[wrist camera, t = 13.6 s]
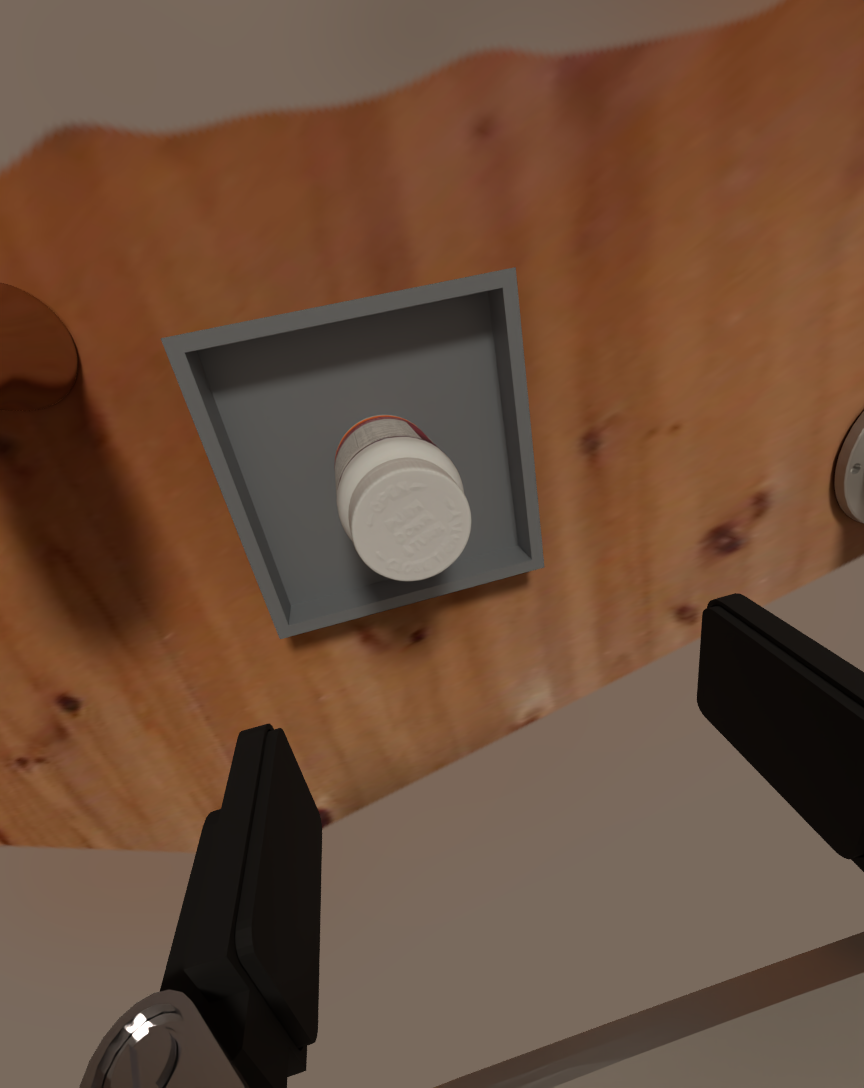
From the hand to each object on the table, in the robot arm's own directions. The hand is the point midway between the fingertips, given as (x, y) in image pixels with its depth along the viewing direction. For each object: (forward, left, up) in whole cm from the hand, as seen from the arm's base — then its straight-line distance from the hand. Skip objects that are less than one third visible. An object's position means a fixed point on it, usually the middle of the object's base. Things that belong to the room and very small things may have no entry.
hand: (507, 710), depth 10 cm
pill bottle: (0, 0, -22) cm, 22 cm away
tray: (0, 0, -23) cm, 23 cm away
